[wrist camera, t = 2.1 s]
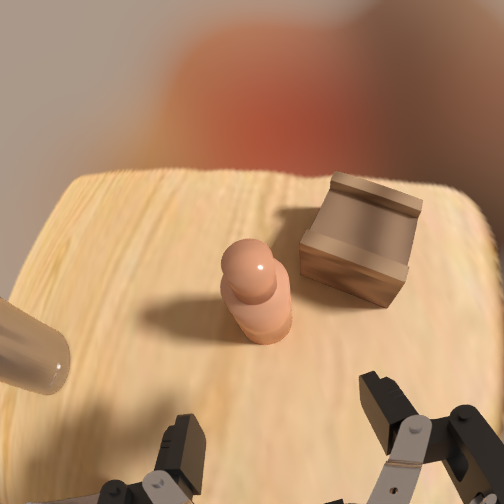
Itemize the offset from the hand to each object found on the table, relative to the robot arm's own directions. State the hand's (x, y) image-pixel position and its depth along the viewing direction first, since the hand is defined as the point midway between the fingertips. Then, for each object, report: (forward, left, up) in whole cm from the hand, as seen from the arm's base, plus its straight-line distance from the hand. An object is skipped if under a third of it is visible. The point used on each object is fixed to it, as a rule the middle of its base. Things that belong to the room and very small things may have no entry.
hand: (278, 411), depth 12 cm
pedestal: (0, +18, -14) cm, 23 cm away
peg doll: (-6, +7, -14) cm, 17 cm away
